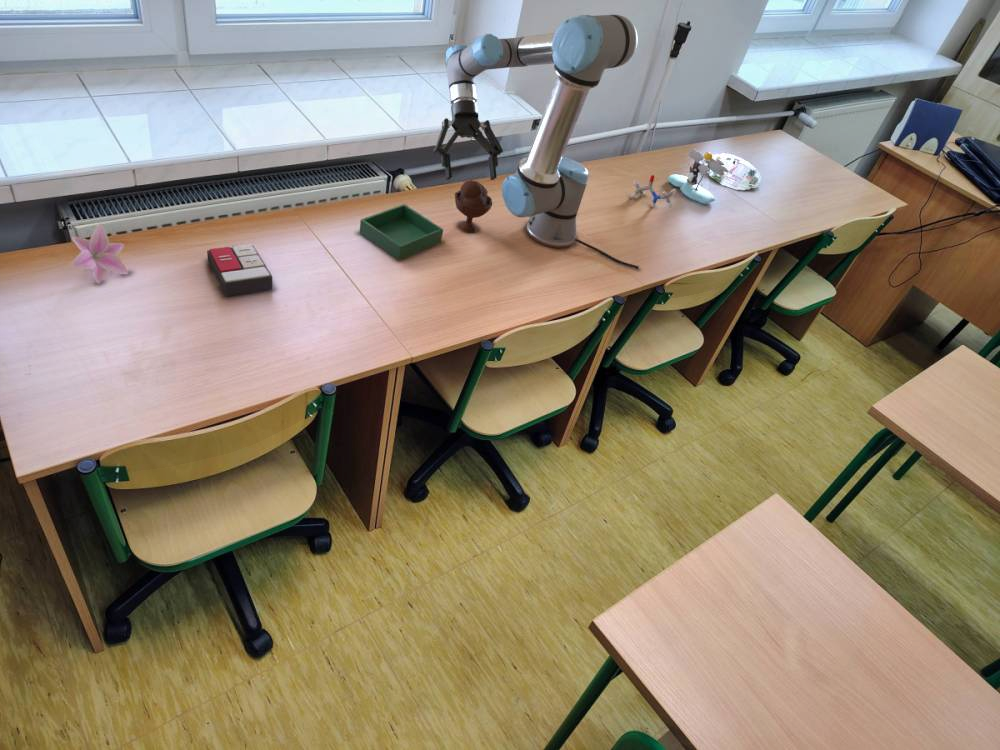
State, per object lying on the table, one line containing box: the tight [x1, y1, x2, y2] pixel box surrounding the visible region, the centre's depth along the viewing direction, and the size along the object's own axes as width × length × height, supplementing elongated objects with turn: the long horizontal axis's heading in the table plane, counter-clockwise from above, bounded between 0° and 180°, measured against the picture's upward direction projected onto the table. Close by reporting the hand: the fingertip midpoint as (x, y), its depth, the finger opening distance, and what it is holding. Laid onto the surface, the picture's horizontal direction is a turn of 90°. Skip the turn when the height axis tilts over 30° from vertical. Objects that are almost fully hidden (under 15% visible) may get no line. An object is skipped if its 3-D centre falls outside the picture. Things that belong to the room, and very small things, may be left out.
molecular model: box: [630, 174, 677, 209], centre depth 240 cm, size 18×8×10 cm, turn 42°
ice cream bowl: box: [454, 179, 493, 234], centre depth 202 cm, size 11×11×15 cm
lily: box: [69, 222, 129, 284], centre depth 158 cm, size 12×12×10 cm
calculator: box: [206, 243, 273, 297], centre depth 168 cm, size 11×4×15 cm
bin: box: [359, 203, 444, 261], centre depth 194 cm, size 15×16×4 cm
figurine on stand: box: [667, 148, 728, 205], centre depth 252 cm, size 20×11×15 cm, turn 30°
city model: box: [703, 152, 763, 191], centre depth 274 cm, size 25×23×6 cm
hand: (471, 178), depth 201 cm, fingers open, 13 cm apart
